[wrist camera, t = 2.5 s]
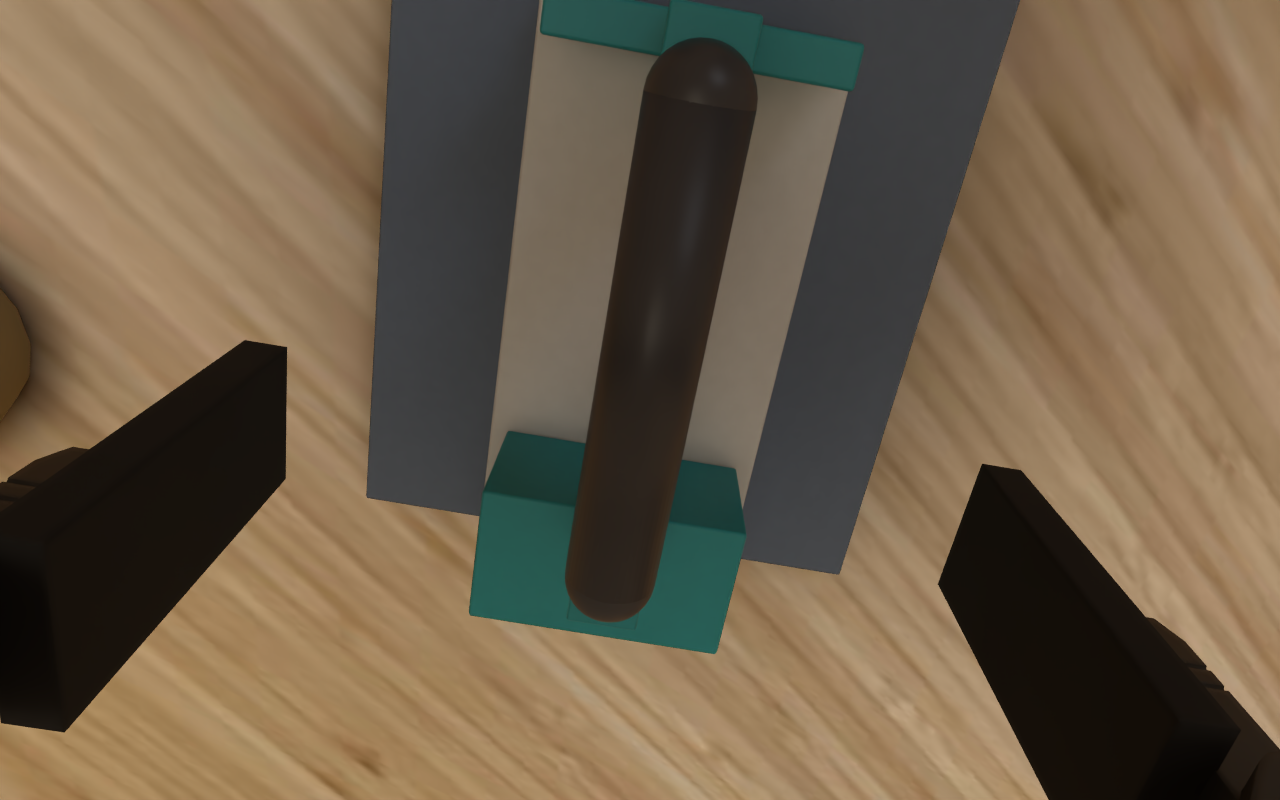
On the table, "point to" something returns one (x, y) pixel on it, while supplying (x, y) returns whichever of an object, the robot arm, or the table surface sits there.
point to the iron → (648, 309)
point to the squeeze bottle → (12, 354)
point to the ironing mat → (829, 287)
